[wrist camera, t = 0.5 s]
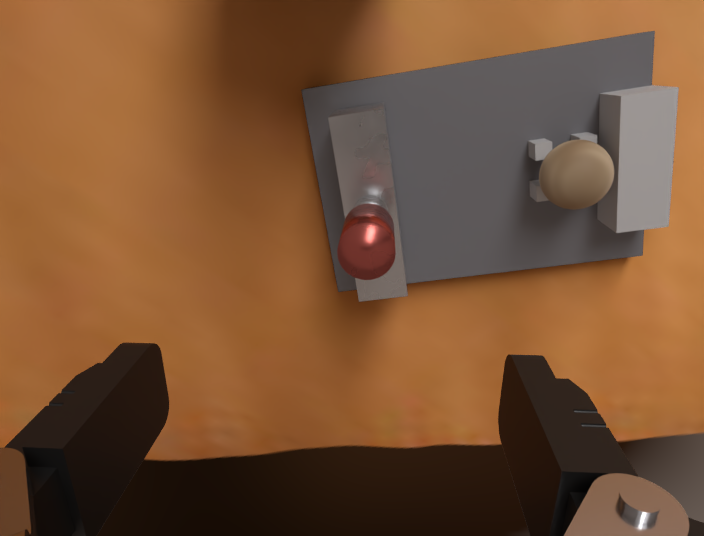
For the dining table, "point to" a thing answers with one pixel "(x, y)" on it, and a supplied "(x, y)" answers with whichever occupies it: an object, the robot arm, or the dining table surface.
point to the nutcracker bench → (510, 156)
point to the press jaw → (368, 203)
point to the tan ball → (576, 174)
